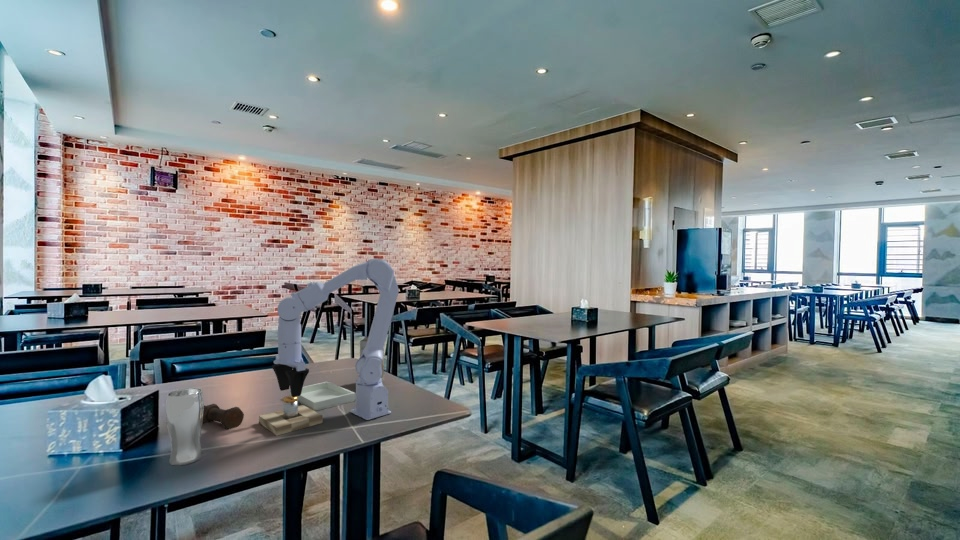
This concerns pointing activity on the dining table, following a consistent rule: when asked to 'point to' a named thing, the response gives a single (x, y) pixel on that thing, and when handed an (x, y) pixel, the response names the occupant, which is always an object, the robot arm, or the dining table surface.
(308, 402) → the parts tray
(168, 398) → the beer glass
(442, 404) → the dining table surface
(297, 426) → the wooden square frame
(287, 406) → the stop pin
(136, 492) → the dining table surface
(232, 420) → the dark brown dumbbell
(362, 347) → the coffee box
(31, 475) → the dining table surface
